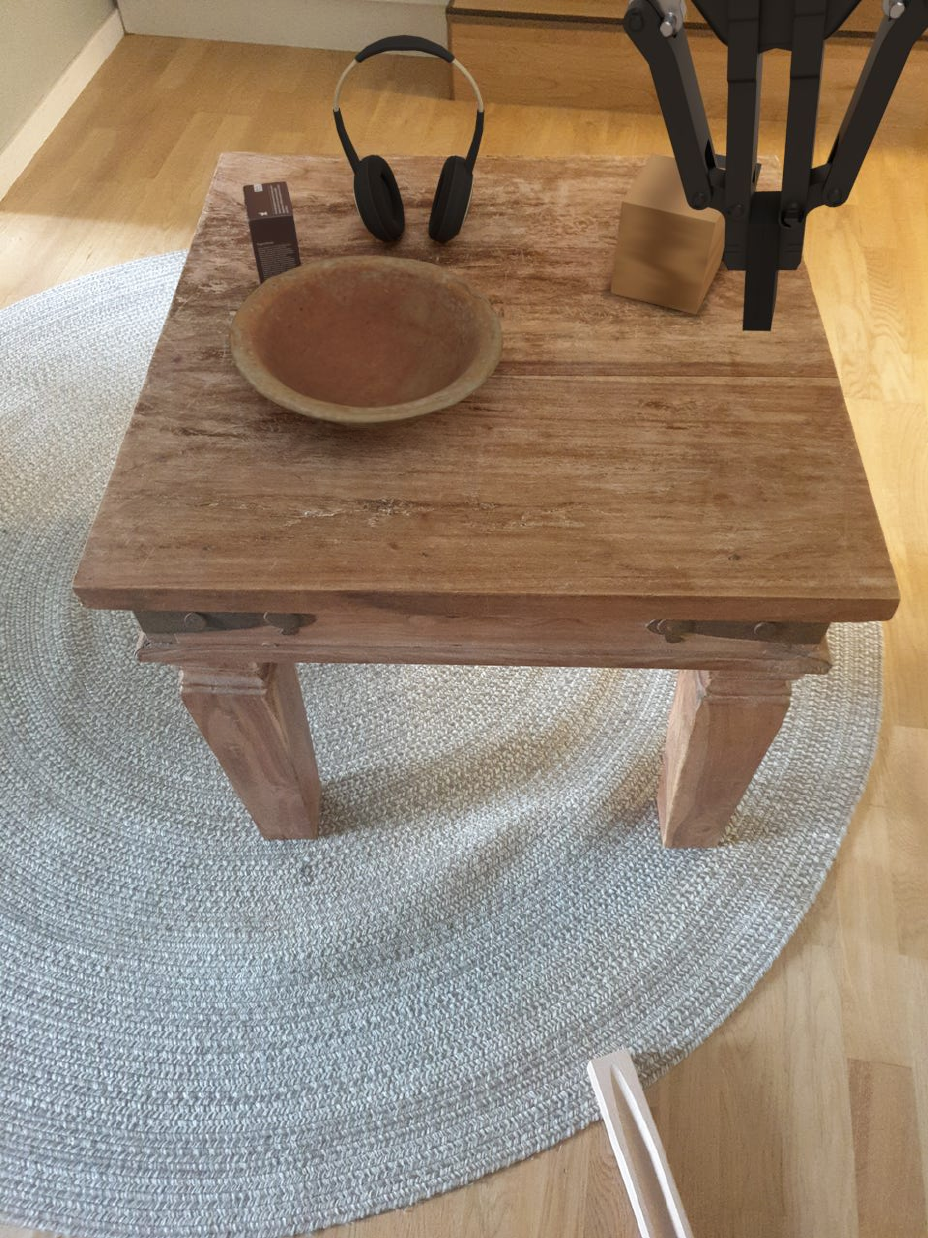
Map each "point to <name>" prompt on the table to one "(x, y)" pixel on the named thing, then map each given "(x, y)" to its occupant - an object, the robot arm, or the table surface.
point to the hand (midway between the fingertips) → (759, 313)
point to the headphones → (377, 180)
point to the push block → (665, 241)
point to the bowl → (366, 340)
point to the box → (271, 228)
